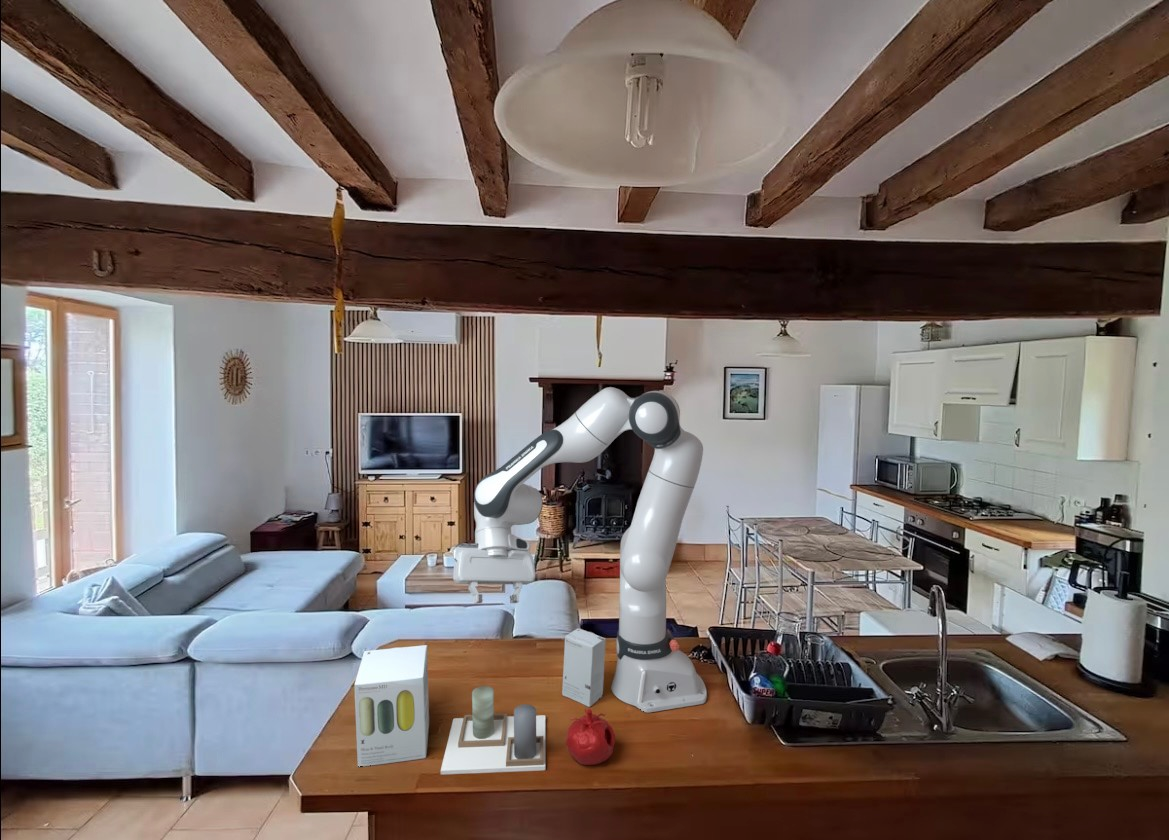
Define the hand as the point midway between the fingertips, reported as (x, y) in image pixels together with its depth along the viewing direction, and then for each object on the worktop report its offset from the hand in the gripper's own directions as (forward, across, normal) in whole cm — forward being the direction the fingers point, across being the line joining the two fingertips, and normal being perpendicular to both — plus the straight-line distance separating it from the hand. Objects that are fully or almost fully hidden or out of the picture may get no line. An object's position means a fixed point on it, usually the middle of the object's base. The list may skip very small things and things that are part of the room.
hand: (496, 603), depth 136 cm
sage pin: (+26, -4, +1) cm, 27 cm away
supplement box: (+26, -20, +10) cm, 34 cm away
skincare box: (+22, +21, 0) cm, 30 cm away
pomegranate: (+33, +12, -14) cm, 38 cm away
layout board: (+29, -3, -2) cm, 29 cm away
